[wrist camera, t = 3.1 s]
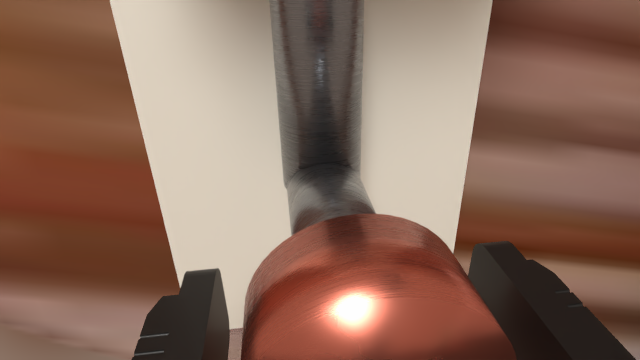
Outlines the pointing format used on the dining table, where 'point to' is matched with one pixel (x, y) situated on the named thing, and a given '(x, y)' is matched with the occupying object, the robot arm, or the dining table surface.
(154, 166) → the cream l-shaped stand
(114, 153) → the dining table surface
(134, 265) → the dining table surface
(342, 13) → the ball knob lever
